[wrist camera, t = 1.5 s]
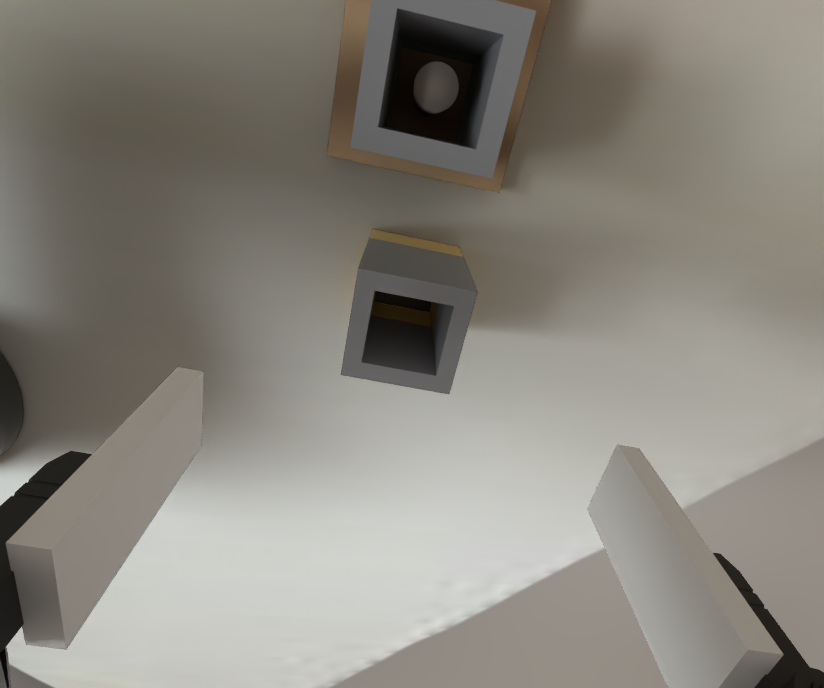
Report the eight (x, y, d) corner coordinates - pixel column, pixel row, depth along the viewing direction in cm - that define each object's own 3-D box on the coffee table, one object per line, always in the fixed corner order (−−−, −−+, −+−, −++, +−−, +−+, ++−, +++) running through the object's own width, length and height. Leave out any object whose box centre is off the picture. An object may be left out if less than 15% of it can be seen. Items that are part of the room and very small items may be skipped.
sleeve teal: (467, 162, 27) (492, 178, 19) (369, 140, 26) (350, 147, 18) (494, 48, 25) (536, 10, 16) (387, 22, 24) (376, -31, 16)
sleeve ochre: (358, 311, 32) (340, 374, 24) (372, 229, 30) (358, 268, 22) (439, 327, 33) (449, 394, 25) (459, 247, 30) (477, 292, 22)
